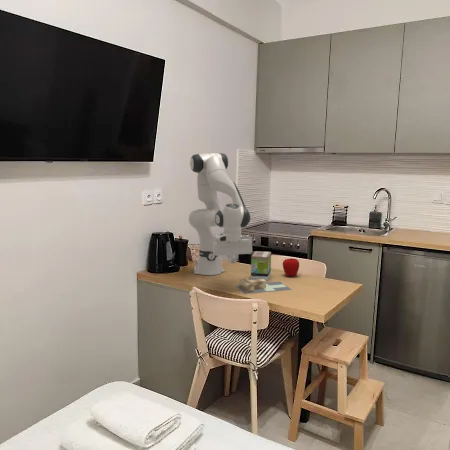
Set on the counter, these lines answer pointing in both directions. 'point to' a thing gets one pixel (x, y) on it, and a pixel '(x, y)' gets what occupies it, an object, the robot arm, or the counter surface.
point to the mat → (267, 288)
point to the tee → (252, 284)
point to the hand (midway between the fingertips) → (232, 263)
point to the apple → (291, 267)
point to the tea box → (260, 265)
